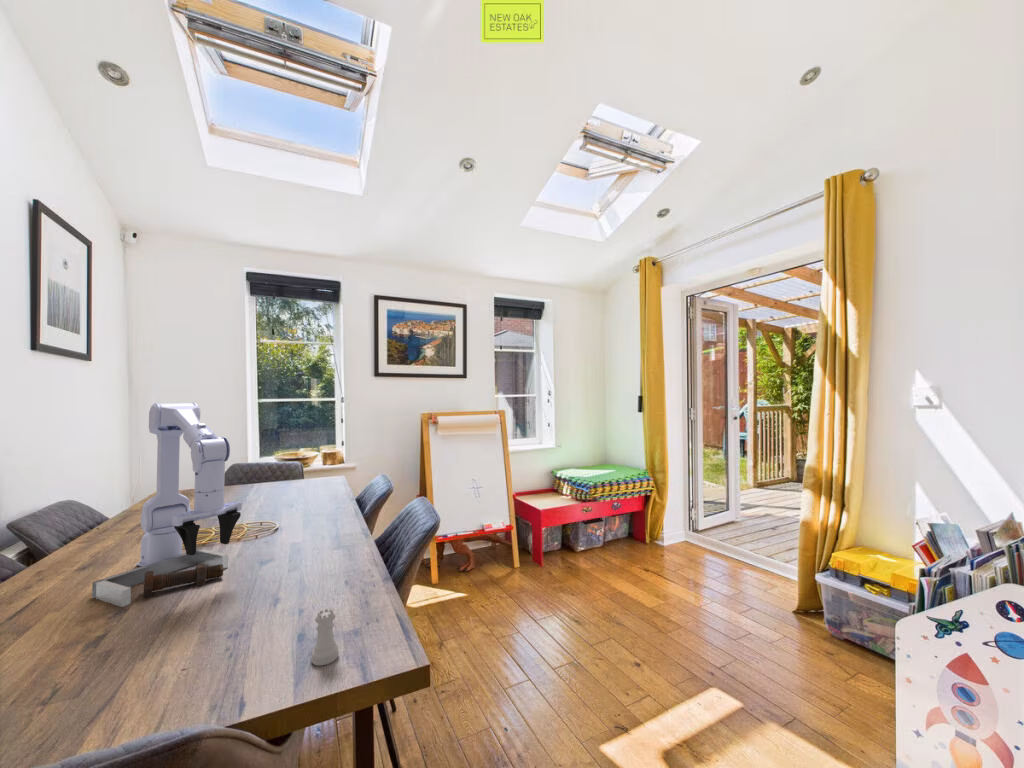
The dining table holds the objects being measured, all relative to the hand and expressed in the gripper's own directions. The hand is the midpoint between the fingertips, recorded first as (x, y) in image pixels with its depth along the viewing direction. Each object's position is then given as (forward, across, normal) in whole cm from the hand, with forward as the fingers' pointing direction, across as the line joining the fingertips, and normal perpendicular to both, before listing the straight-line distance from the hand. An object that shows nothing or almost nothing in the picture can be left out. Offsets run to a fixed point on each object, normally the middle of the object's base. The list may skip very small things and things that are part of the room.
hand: (208, 548), depth 99 cm
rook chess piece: (+10, -9, -45) cm, 47 cm away
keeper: (+10, 0, +15) cm, 18 cm away
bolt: (+10, 0, +8) cm, 13 cm away
